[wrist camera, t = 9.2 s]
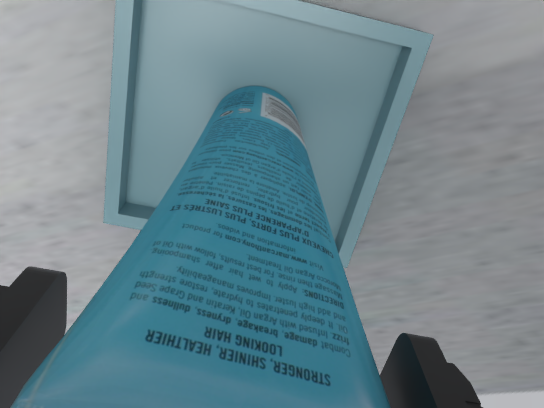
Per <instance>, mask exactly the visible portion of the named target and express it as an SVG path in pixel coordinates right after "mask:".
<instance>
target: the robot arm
mask: <svg viewBox="0 0 544 408" xmlns="http://www.w3.org/2000/svg"><path fill="white" fill-rule="evenodd" d="M66 316H67V277H66V274H65V273H64V272H60V271H54V270H48V269H43V268H37V267H27V268H26V269H25V270H24V271H23V272H22V273H21V274H20V275H19V276H18V278H17V279H16V280H15V281H14V282H13V283H12V284H11V285H10V287H7V286H1V285H0V408H10V407H11V405H12V404H13V402H14V401H15V399H16V398H17V396H18V394H19V393H20V391H21V389H22V388H23V386H24V384H25V383H26V382H27V381H28V379H29V378H30V377H31V376H32V374H33V373H34V372H35V371H36V369H37V368H38V367H39V366H40V364H41V363H42V362H43V360H44V359H45V358H46V357H47V356H48V354H49V353H50V352H51V351H52V350H53V349H54V347H55V346H56V345H57V344H58V343H59V341H60V340H61V339H62V338H63V336H64V334H65V329H66ZM380 378H381V381H382V384H383V387H384V390H385V393H386V395H387V398H388V401H389V404H390V407H391V408H483V407H481V406H480V405H481V403H480V401H479V399H478V397H477V395H476V393H475V391H474V389H473V387H472V385H471V383H470V382H469V381H468V379H467V378H466V377H465V376H464V375H463V374H462V373H461V372H460V371H459V369H458V368H457V367H456V366H455V365H454V364H453V363H447V362H446V360H445V357H444V355H443V353H442V351H441V349H440V347H439V345H438V343H437V341H436V340H435V339H433V338H430V337H424V336H418V335H413V334H407V333H402V334H400V335H399V337H398V338H397V340H396V342H395V344H394V347H393V349H392V351H391V353H390V355H389V357H388V359H387V361H386V364H385V366H384V368H383V370H382V372H381V374H380Z"/></svg>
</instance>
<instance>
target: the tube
mask: <svg viewBox="0 0 544 408" xmlns="http://www.w3.org/2000/svg"><path fill="white" fill-rule="evenodd" d="M10 408H391V407H390V404H389V401H388V398H387V395H386V393H385V390H384V387H383V384H382V381H381V378H380V375H379V373H378V370H377V367H376V364H375V361H374V358H373V355H372V352H371V349H370V347H369V344H368V341H367V338H366V335H365V332H364V329H363V326H362V323H361V320H360V317H359V314H358V311H357V308H356V305H355V302H354V299H353V296H352V293H351V290H350V287H349V284H348V281H347V278H346V275H345V272H344V269H343V265H342V262H341V259H340V256H339V253H338V250H337V247H336V244H335V241H334V237H333V234H332V231H331V228H330V225H329V221H328V218H327V215H326V212H325V208H324V205H323V202H322V199H321V195H320V192H319V189H318V186H317V182H316V179H315V176H314V172H313V169H312V166H311V163H310V159H309V156H308V153H307V149H306V146H305V142H304V139H303V135H302V132H301V129H300V125H299V122H298V119H297V116H296V113H295V111H294V109H293V107H292V106H291V104H290V103H289V102H288V101H287V99H285V98H284V97H283V96H282V95H281V94H279V93H278V92H276V91H274V90H272V89H269V88H266V87H262V86H247V87H242V88H239V89H236V90H234V91H233V92H231V93H229V94H228V95H227V96H225V97H224V98H223V99H222V100H221V102H220V103H219V104H218V106H217V108H216V109H215V111H214V113H213V115H212V116H211V118H210V120H209V122H208V123H207V125H206V127H205V129H204V131H203V132H202V134H201V136H200V138H199V139H198V141H197V143H196V145H195V146H194V148H193V150H192V151H191V153H190V155H189V157H188V158H187V160H186V162H185V163H184V165H183V167H182V168H181V170H180V172H179V173H178V175H177V176H176V178H175V179H174V181H173V183H172V184H171V186H170V187H169V189H168V190H167V192H166V194H165V195H164V197H163V198H162V200H161V201H160V203H159V204H158V206H157V207H156V209H155V211H154V212H153V214H152V215H151V217H150V218H149V220H148V221H147V223H146V224H145V225H144V227H143V228H142V230H141V231H140V233H139V234H138V236H137V237H136V239H135V240H134V242H133V243H132V245H131V246H130V248H129V249H128V250H127V252H126V253H125V255H124V256H123V257H122V259H121V260H120V261H119V263H118V264H117V266H116V267H115V268H114V270H113V271H112V272H111V274H110V275H109V276H108V278H107V279H106V281H105V282H104V283H103V285H102V286H101V287H100V289H99V290H98V291H97V293H96V294H95V295H94V297H93V298H92V299H91V301H90V302H89V304H88V305H87V306H86V308H85V309H84V310H83V312H82V313H81V314H80V316H79V317H78V318H77V320H76V321H75V322H74V323H73V325H72V326H71V327H70V329H69V330H68V331H67V333H66V334H65V335H64V336H63V338H62V339H61V340H60V341H59V343H58V344H57V345H56V346H55V347H54V349H53V350H52V351H51V352H50V353H49V354H48V356H47V357H46V358H45V359H44V360H43V362H42V363H41V364H40V366H39V367H38V368H37V369H36V371H35V372H34V373H33V374H32V376H31V377H30V378H29V379H28V381H27V382H26V383H25V384H24V386H23V388H22V389H21V391H20V393H19V394H18V396H17V398H16V399H15V401H14V402H13V404H12V405H11V407H10Z"/></svg>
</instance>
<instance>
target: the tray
mask: <svg viewBox="0 0 544 408" xmlns="http://www.w3.org/2000/svg"><path fill="white" fill-rule="evenodd" d="M433 36H434V35H433V34H429V33H426V32H422V31H418V30H414V29H410V28H406V27H402V26H399V25H395V24H391V23H387V22H383V21H379V20H375V19H371V18H367V17H363V16H359V15H355V14H351V13H347V12H343V11H339V10H336V9H332V8H328V7H324V6H320V5H316V4H312V3H308V2H304V1H300V0H116V7H115V25H114V43H113V61H112V78H111V96H110V114H109V132H108V150H107V168H106V186H105V204H104V222H103V223H106V224H112V225H117V226H123V227H128V228H133V229H139V230H142V228H143V227H144V225H145V224H146V223H147V221H148V220H149V218H150V217H151V215H152V214H153V212H154V211H155V209H156V207H157V206H158V204H159V203H160V201H161V200H162V198H163V197H164V195H165V194H166V192H167V190H168V189H169V187H170V186H171V184H172V183H173V181H174V179H175V178H176V176H177V175H178V173H179V172H180V170H181V168H182V167H183V165H184V163H185V162H186V160H187V158H188V157H189V155H190V153H191V151H192V150H193V148H194V146H195V145H196V143H197V141H198V139H199V138H200V136H201V134H202V132H203V131H204V129H205V127H206V125H207V123H208V122H209V120H210V118H211V116H212V115H213V113H214V111H215V109H216V108H217V106H218V104H219V103H220V102H221V100H222V99H223V98H224V97H225V96H227V95H228V94H229V93H231V92H233V91H234V90H236V89H239V88H242V87H247V86H262V87H266V88H269V89H272V90H274V91H276V92H278V93H279V94H281V95H282V96H283V97H284V98H285V99H287V101H288V102H289V103H290V104H291V106H292V107H293V109H294V111H295V113H296V116H297V119H298V122H299V125H300V129H301V132H302V135H303V139H304V142H305V146H306V149H307V153H308V156H309V159H310V163H311V166H312V169H313V172H314V176H315V179H316V182H317V186H318V189H319V192H320V195H321V199H322V202H323V205H324V208H325V212H326V215H327V218H328V221H329V225H330V228H331V231H332V234H333V237H334V241H335V244H336V247H337V250H338V253H339V256H340V259H341V262H342V265H343V267H344V268H347V266H348V264H349V261H350V258H351V256H352V253H353V250H354V248H355V245H356V242H357V240H358V237H359V234H360V232H361V229H362V226H363V223H364V221H365V218H366V215H367V213H368V210H369V207H370V205H371V202H372V199H373V197H374V194H375V191H376V189H377V186H378V183H379V181H380V178H381V175H382V172H383V170H384V167H385V164H386V162H387V159H388V156H389V154H390V151H391V148H392V146H393V143H394V140H395V138H396V135H397V132H398V130H399V127H400V124H401V121H402V119H403V116H404V113H405V111H406V108H407V105H408V103H409V100H410V97H411V95H412V92H413V89H414V87H415V84H416V81H417V79H418V76H419V73H420V71H421V68H422V65H423V62H424V60H425V57H426V54H427V52H428V49H429V46H430V44H431V41H432V38H433Z"/></svg>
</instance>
